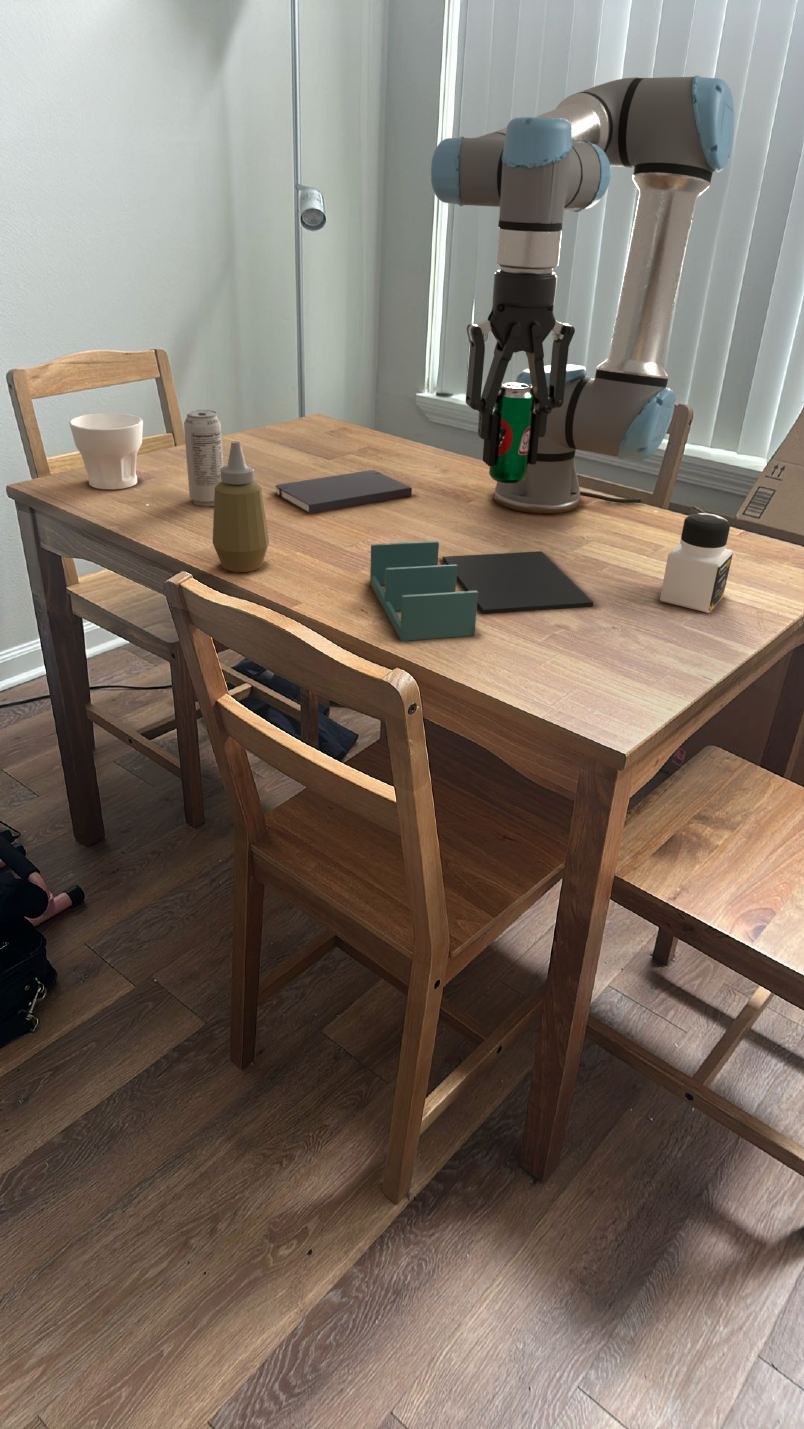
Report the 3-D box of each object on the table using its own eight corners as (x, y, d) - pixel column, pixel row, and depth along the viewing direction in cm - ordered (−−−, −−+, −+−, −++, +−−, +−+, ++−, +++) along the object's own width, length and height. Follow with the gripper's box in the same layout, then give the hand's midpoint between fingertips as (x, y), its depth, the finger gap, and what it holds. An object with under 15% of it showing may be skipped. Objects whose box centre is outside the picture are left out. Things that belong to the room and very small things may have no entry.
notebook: (309, 513, 160) (411, 495, 171) (308, 504, 160) (412, 487, 170) (273, 493, 169) (373, 477, 180) (273, 484, 169) (373, 469, 179)
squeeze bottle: (224, 579, 134) (216, 452, 125) (206, 560, 140) (198, 437, 131) (278, 571, 138) (274, 447, 129) (258, 553, 144) (253, 433, 135)
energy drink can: (222, 495, 168) (217, 408, 160) (228, 505, 163) (222, 416, 155) (187, 497, 166) (180, 409, 158) (192, 508, 161) (185, 418, 153)
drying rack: (435, 580, 137) (438, 540, 134) (474, 635, 121) (478, 592, 118) (370, 584, 135) (370, 543, 132) (401, 641, 119) (402, 597, 116)
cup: (163, 481, 173) (157, 419, 168) (111, 497, 164) (103, 433, 159) (115, 469, 179) (108, 409, 173) (62, 484, 170) (53, 421, 164)
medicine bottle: (709, 614, 130) (727, 529, 124) (658, 601, 133) (674, 518, 127) (723, 597, 135) (741, 515, 129) (674, 585, 138) (690, 505, 132)
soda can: (525, 486, 124) (534, 391, 118) (486, 482, 125) (493, 388, 119) (528, 475, 128) (537, 383, 122) (491, 471, 129) (498, 380, 123)
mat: (541, 554, 147) (541, 551, 147) (593, 606, 131) (593, 602, 130) (442, 560, 144) (442, 556, 144) (482, 613, 127) (483, 609, 127)
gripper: (584, 266, 119) (562, 452, 131) (445, 265, 115) (435, 457, 127) (609, 273, 112) (583, 468, 124) (462, 272, 108) (451, 473, 120)
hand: (509, 462), depth 125 cm, fingers closed on soda can, 5 cm apart
